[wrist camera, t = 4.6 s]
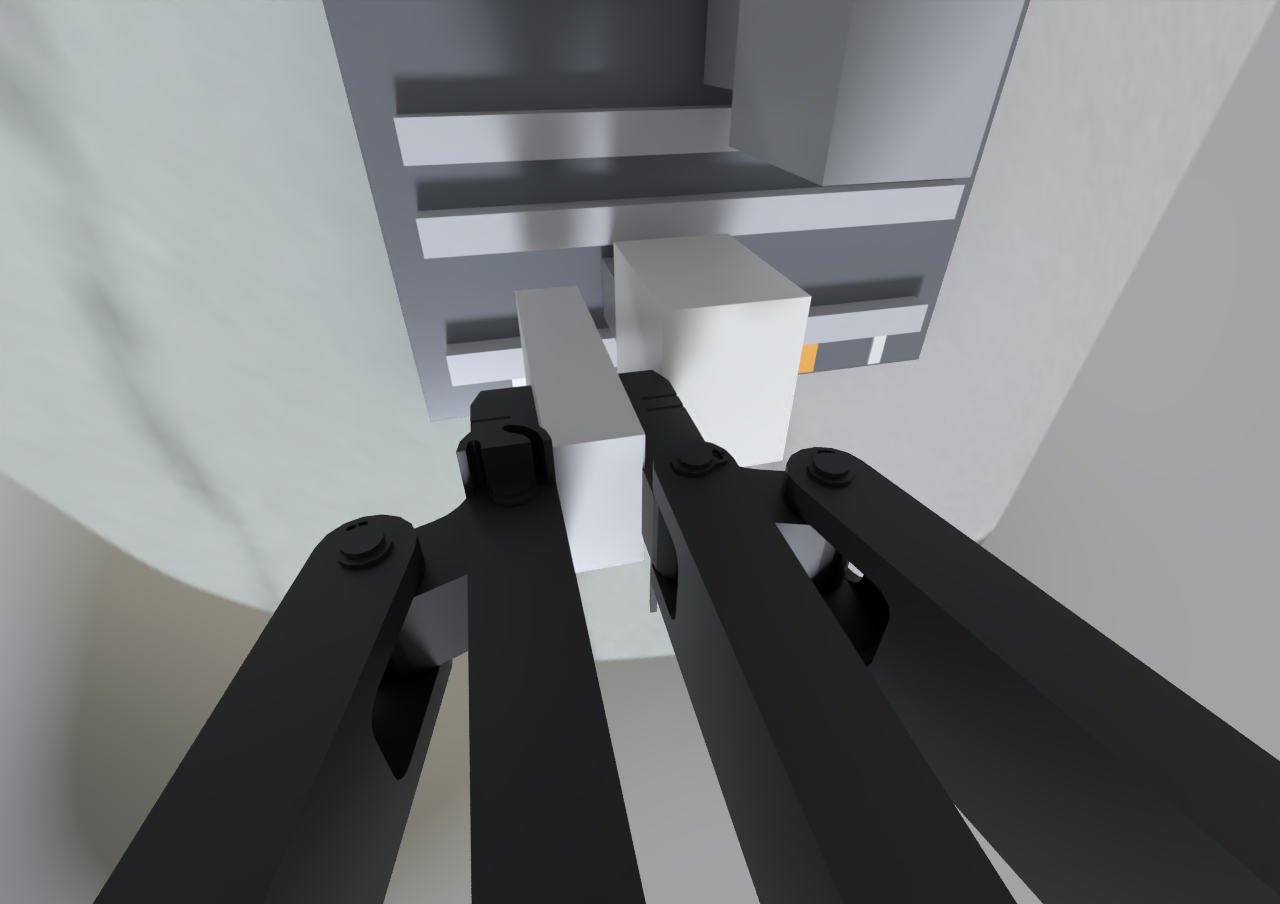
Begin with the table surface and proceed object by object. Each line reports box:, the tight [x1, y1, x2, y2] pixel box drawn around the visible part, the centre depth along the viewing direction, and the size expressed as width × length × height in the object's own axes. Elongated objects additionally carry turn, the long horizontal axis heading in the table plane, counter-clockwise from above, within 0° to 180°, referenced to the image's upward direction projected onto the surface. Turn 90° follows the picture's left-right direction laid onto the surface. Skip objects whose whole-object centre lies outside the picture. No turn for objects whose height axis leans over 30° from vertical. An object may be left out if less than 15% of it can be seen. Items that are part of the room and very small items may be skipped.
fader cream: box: [602, 233, 812, 467], centre depth 15 cm, size 4×3×7 cm
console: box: [322, 0, 1030, 422], centre depth 17 cm, size 14×18×3 cm
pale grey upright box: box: [704, 0, 1025, 186], centre depth 12 cm, size 4×3×7 cm
